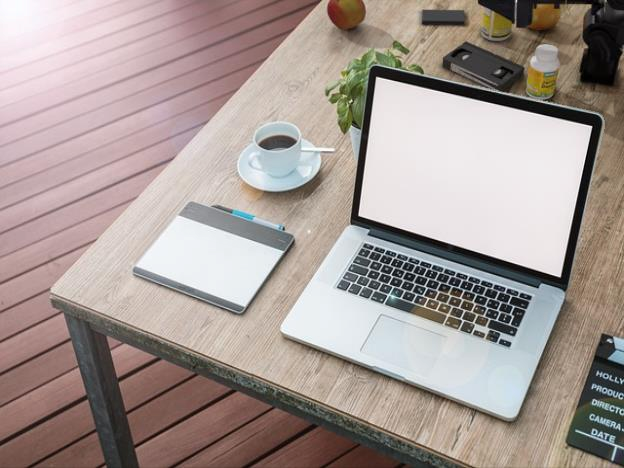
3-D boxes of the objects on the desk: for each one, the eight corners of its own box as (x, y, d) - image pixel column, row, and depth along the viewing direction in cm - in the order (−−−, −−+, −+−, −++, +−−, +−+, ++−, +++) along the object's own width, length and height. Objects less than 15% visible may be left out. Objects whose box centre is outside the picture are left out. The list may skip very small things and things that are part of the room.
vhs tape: (441, 66, 170) (442, 57, 168) (465, 49, 173) (465, 41, 172) (499, 93, 162) (501, 85, 161) (523, 75, 166) (524, 67, 165)
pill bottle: (515, 31, 178) (522, -17, 170) (503, 45, 174) (510, -3, 166) (488, 23, 180) (493, -25, 172) (475, 37, 176) (481, -11, 169)
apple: (341, 14, 185) (340, -20, 179) (372, 24, 182) (372, -10, 176) (321, 29, 181) (320, -4, 175) (352, 40, 177) (352, 6, 172)
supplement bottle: (539, 81, 165) (547, 38, 158) (559, 94, 161) (568, 51, 155) (519, 90, 163) (526, 48, 156) (539, 104, 160) (547, 61, 153)
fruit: (540, -2, 182) (535, -23, 175) (571, 14, 178) (567, -7, 171) (516, 27, 182) (510, 7, 175) (546, 44, 178) (541, 24, 171)
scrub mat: (463, 13, 183) (464, 10, 183) (464, 24, 180) (464, 21, 180) (422, 12, 184) (422, 9, 184) (422, 23, 181) (422, 20, 180)
